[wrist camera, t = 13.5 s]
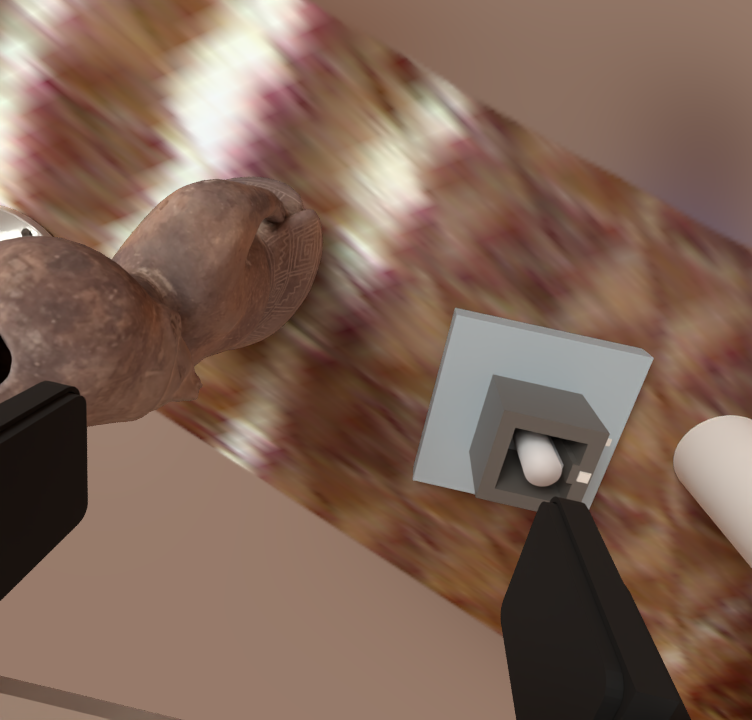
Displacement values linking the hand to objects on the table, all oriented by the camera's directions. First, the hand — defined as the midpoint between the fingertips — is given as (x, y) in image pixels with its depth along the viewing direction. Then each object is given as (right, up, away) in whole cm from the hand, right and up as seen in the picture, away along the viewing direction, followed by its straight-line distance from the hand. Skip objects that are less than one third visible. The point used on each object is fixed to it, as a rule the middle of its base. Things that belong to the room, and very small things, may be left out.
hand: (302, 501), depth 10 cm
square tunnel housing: (+13, -2, +28) cm, 30 cm away
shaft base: (+13, -1, +29) cm, 32 cm away
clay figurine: (-7, +11, +27) cm, 30 cm away
